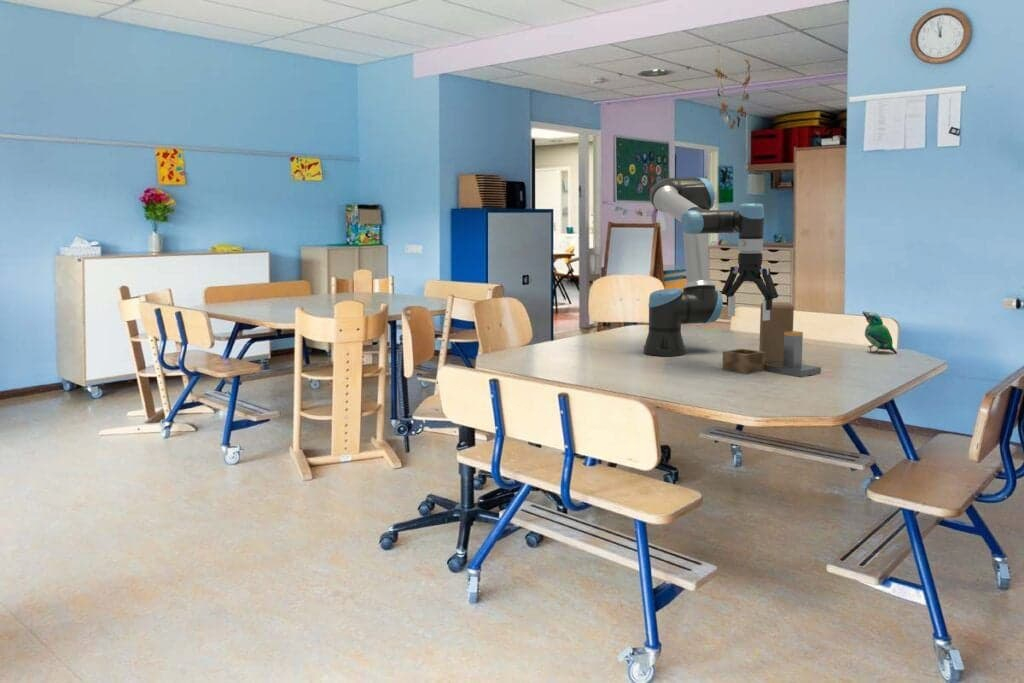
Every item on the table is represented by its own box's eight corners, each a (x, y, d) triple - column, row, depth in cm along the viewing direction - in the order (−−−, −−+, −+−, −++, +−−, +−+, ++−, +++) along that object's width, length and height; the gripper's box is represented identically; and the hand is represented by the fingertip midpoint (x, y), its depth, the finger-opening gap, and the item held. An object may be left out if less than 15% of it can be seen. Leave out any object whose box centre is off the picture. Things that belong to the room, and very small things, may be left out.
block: (792, 364, 286) (794, 305, 283) (761, 363, 288) (763, 304, 285) (788, 359, 295) (790, 302, 292) (758, 358, 297) (760, 301, 294)
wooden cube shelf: (722, 369, 277) (722, 351, 277) (741, 366, 283) (742, 348, 282) (745, 373, 270) (746, 355, 269) (765, 370, 275) (765, 352, 274)
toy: (861, 354, 304) (863, 312, 302) (859, 350, 312) (861, 309, 309) (898, 355, 300) (901, 313, 298) (895, 351, 308) (897, 310, 306)
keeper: (764, 370, 274) (765, 330, 273) (783, 367, 280) (785, 328, 278) (800, 377, 263) (802, 335, 261) (820, 373, 269) (822, 332, 267)
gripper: (711, 251, 278) (710, 315, 282) (776, 254, 259) (773, 322, 262) (726, 250, 283) (725, 313, 286) (791, 253, 263) (788, 320, 266)
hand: (748, 318), depth 274 cm, fingers open, 13 cm apart
